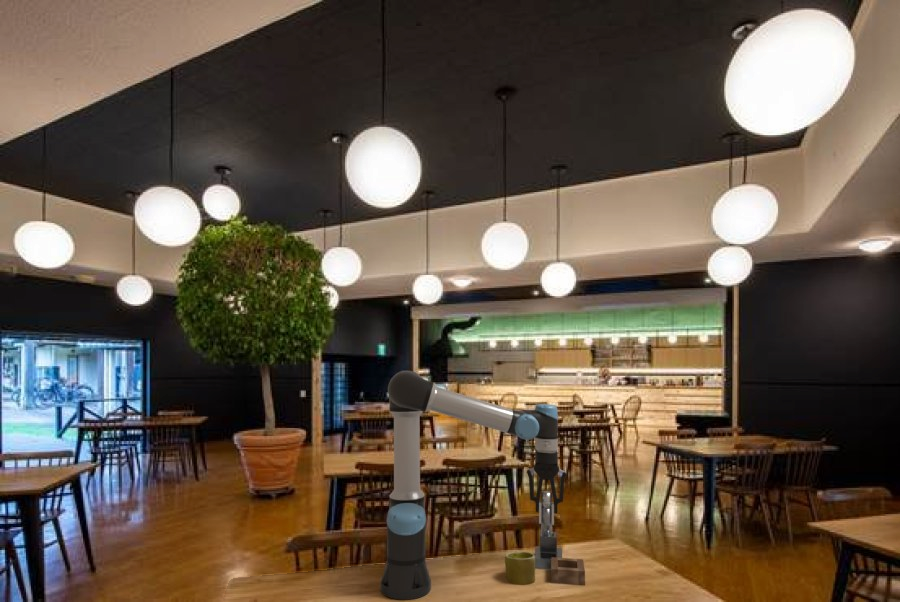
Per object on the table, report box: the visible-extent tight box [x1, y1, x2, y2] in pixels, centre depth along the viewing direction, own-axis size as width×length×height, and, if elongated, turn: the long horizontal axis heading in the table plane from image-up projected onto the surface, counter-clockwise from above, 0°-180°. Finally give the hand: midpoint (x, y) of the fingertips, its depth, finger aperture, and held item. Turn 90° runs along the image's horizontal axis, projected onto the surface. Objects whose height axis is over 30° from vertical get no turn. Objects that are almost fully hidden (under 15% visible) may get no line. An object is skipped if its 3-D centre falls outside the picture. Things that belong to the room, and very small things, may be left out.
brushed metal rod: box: [540, 490, 553, 537], centre depth 178 cm, size 3×3×14 cm
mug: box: [504, 550, 536, 586], centre depth 167 cm, size 12×10×10 cm
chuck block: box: [534, 530, 563, 571], centre depth 180 cm, size 9×12×9 cm
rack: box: [550, 557, 586, 586], centre depth 167 cm, size 10×10×5 cm
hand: (546, 522), depth 178 cm, fingers closed on brushed metal rod, 3 cm apart
